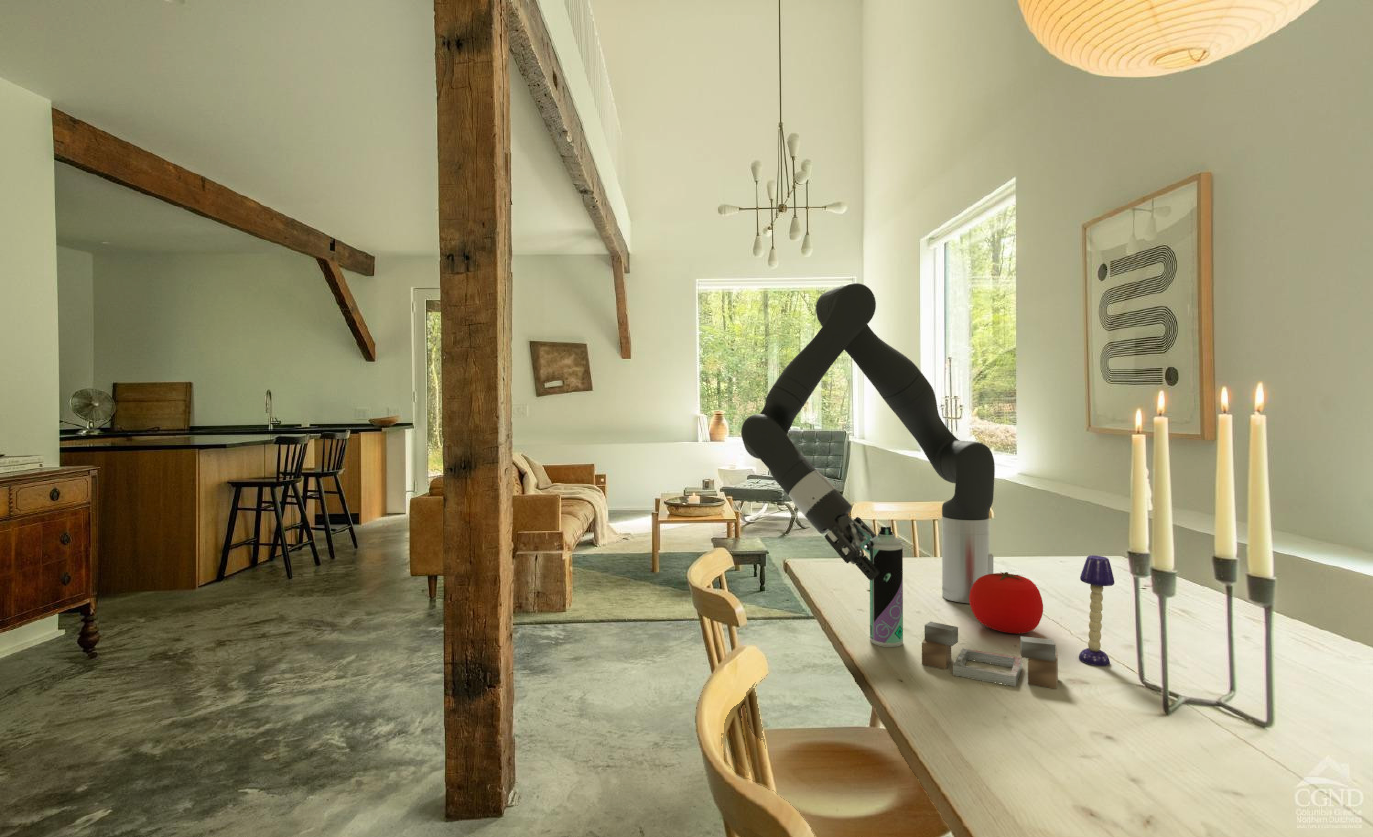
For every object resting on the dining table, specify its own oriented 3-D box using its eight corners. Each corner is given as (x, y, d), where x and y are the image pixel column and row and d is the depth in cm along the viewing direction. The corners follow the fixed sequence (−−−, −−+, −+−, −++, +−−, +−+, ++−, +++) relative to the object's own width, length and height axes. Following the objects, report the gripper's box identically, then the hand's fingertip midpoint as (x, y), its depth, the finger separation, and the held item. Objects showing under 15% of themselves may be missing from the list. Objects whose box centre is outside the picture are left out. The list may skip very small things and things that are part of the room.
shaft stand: (921, 664, 108) (921, 627, 108) (928, 656, 112) (927, 620, 112) (1055, 689, 98) (1055, 648, 98) (1057, 678, 102) (1057, 639, 102)
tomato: (1051, 629, 124) (1051, 572, 124) (1031, 646, 116) (1031, 584, 116) (984, 616, 133) (983, 562, 132) (960, 631, 124) (960, 573, 124)
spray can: (885, 649, 115) (885, 530, 115) (863, 639, 120) (862, 525, 119) (909, 644, 117) (909, 527, 117) (886, 634, 122) (886, 522, 122)
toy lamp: (1110, 658, 110) (1110, 554, 110) (1117, 669, 105) (1117, 560, 105) (1076, 655, 111) (1076, 552, 111) (1082, 665, 107) (1082, 558, 107)
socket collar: (952, 675, 103) (952, 665, 103) (963, 657, 111) (963, 648, 111) (1015, 687, 99) (1015, 676, 99) (1022, 667, 106) (1022, 658, 106)
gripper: (819, 491, 117) (887, 566, 111) (846, 483, 129) (908, 550, 123) (790, 520, 120) (855, 594, 114) (819, 510, 132) (879, 576, 126)
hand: (882, 571), depth 119 cm, fingers open, 8 cm apart
